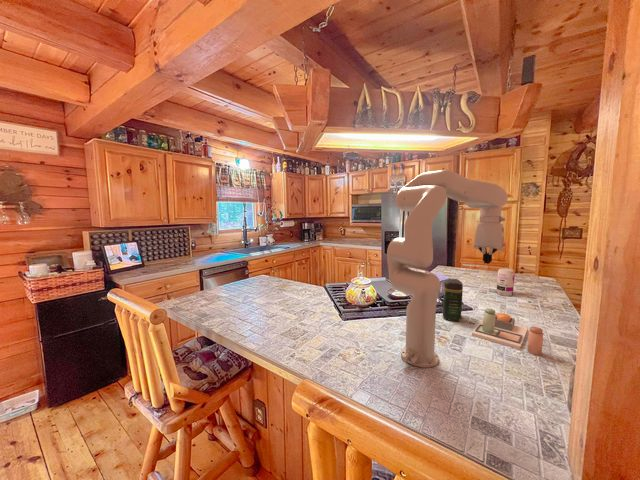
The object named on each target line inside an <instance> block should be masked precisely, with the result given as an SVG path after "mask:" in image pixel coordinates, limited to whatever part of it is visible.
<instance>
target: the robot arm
mask: <svg viewBox="0 0 640 480" xmlns="http://www.w3.org/2000/svg"><path fill="white" fill-rule="evenodd" d="M447 198H449V199H451V200H453V201H457V202H461V203H462V202H463V203H465V206H467V208H472V209H479V222H478V223H477V225H476V228H475V234H474V239H473V244H474V245H473V249H476V250H479V251H480V253H482V254H483V255H482V261H483V263H484V264H485V265H486V264H487V265H489V264H490V263H491V262H492V261H493V254H494V253H496V252H501V251H504V244H505V229H504V224H503V223H502V222H505V221H506V217H503V216H502V208H503V207H505V205H506V204H507V201H508V198H509V197H508V192H507V191H506V190H505V189H504V188H503V187H502V186H501V185H498V184H496V183H491V182H485V181H480V180H476V179H469V178H467V177H465V176H463V175H461V174H460V173H457V172H455V171H453V170H450V169H438V170H432V171H431V170H430V171H425V172H422V173H420V174H419V175H417V176H415V178H413V179H412V180H410V181H409V182H408V183H406V184H405V185H404V186H403V187H401V188H400V189H399V190H398V192H397V194H396V196H395V203H396V206H397V208H399V210H400V211H402V212H409V215H408V216H407V217H406V220H405V221H404V227H403V230H404V233H403V234H404V237H396V238H393V239H392V240H391V241H390V242H389V244H388V246H387V250H386V258H387V260H386V261H387V269H388V277H389V278H388V279H389V283H390V286H392V289H394V290H395V291H398V292H401V293H403V294H406V295H409V296H412V297H411V300H410V301H409V303H408V304H407V305H406V311H405V312H406V313H405V314H406V316H405V317H406V318H405V319H406V320H405V321H406V322H405V346H404V347H403V348H402V349H401V351H400V355H401V361H402V362H403V363H408V364H410V365H412V366H414V367H419V368H427V369H428V368H432V367H436V366H437V365H438V364H439V362H440V356H439V355H438V353H437V352H436V351H435V346H436V345H435V343H436V339H435V338H436V321H437V320H436V319H437V318H436V317H437V305H438V304H437V303H438V297H439V294H440V290H441V281H440V278H439V277H438V276H437V275H436V274H435V273H433V272H431V271H428V270H425V268H429V267H430V266H431V265H432V263H433V262H434V246H433V223H434V221H435V219H436V216H437V215H438V214H439V212H440V211H441V209H442V208H443V207H444V205H445V204H446V202H447ZM488 248H489V249H488ZM487 249H488V250H489V251H488V250H487Z"/></svg>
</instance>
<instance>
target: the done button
mask: <svg viewBox="0 0 640 480" xmlns="http://www.w3.org/2000/svg"><path fill="white" fill-rule="evenodd" d="M496 314H497V320H501V321H505V322H509V323H510V318H512V316H511V315H509V314H506V313H503V312H498V313H496Z"/></svg>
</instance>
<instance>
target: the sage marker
mask: <svg viewBox="0 0 640 480" xmlns="http://www.w3.org/2000/svg"><path fill="white" fill-rule="evenodd" d="M496 314H497V313H496V310H495V309H492V308H485V310H484V311H483V318H484V319H483V318H482V320H483V328H482V330H483V331H485V332H487V333H493V332H494V325H495V317H496Z"/></svg>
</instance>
